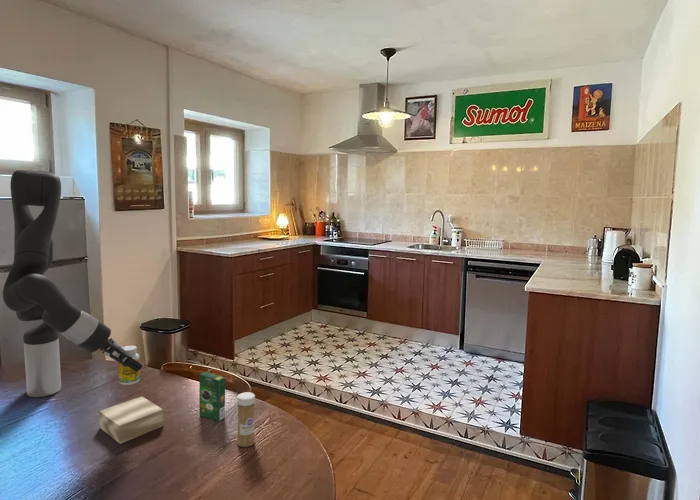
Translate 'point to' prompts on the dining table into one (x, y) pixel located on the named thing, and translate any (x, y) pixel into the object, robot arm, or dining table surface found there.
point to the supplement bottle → (126, 373)
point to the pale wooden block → (131, 419)
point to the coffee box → (212, 396)
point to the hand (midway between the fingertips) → (136, 365)
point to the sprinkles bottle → (246, 419)
